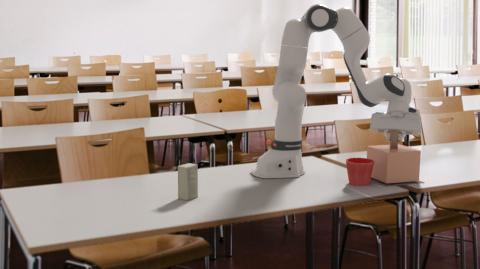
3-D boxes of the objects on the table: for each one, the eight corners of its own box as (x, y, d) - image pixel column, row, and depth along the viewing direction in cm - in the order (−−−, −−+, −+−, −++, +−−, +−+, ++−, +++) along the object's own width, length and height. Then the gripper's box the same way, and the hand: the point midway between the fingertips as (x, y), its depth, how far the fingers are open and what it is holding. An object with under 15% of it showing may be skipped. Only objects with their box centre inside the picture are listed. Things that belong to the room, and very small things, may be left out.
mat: (385, 187, 261) (386, 186, 261) (361, 177, 278) (361, 176, 278) (425, 183, 268) (425, 182, 268) (398, 174, 284) (399, 173, 284)
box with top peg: (386, 183, 263) (388, 134, 260) (366, 175, 277) (368, 128, 274) (418, 180, 268) (421, 133, 265) (397, 172, 282) (399, 127, 279)
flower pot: (373, 188, 260) (374, 163, 258) (344, 186, 262) (345, 162, 261) (373, 182, 270) (374, 158, 269) (345, 180, 272) (346, 156, 271)
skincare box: (189, 195, 248) (189, 162, 246) (198, 197, 246) (198, 164, 244) (177, 198, 244) (177, 165, 242) (186, 200, 241) (186, 167, 239)
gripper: (371, 107, 278) (366, 134, 270) (423, 110, 271) (419, 138, 264) (372, 116, 283) (368, 143, 275) (423, 119, 276) (420, 147, 269)
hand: (393, 141), depth 270 cm, fingers closed on box with top peg, 3 cm apart
